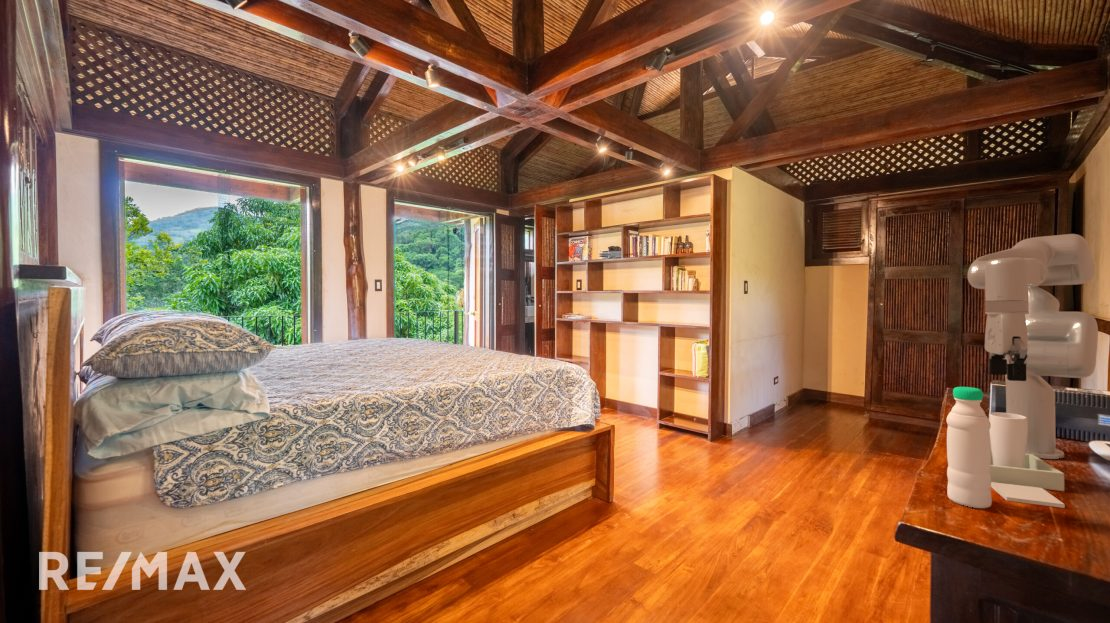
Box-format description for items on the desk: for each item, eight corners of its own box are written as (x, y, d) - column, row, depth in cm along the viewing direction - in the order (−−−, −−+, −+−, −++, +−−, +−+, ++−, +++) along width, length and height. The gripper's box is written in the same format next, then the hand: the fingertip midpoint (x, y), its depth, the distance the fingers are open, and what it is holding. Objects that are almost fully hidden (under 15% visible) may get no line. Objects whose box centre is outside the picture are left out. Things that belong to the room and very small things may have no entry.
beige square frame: (960, 462, 119) (960, 447, 119) (1032, 469, 113) (1032, 454, 113) (982, 481, 107) (982, 465, 107) (1064, 491, 101) (1064, 473, 101)
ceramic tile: (988, 485, 105) (988, 481, 105) (1041, 491, 101) (1041, 487, 101) (1006, 500, 97) (1006, 497, 97) (1064, 508, 93) (1064, 504, 93)
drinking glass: (1036, 481, 106) (1035, 419, 106) (1002, 480, 107) (1002, 418, 107) (1013, 471, 113) (1012, 412, 112) (982, 469, 114) (981, 411, 114)
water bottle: (980, 512, 92) (979, 392, 92) (940, 499, 98) (938, 387, 98) (998, 505, 95) (997, 389, 94) (957, 492, 101) (956, 383, 101)
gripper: (972, 308, 119) (973, 371, 119) (1002, 309, 103) (1002, 382, 103) (1010, 307, 115) (1010, 373, 116) (1046, 308, 100) (1047, 384, 100)
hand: (1007, 377), depth 110 cm, fingers open, 9 cm apart
